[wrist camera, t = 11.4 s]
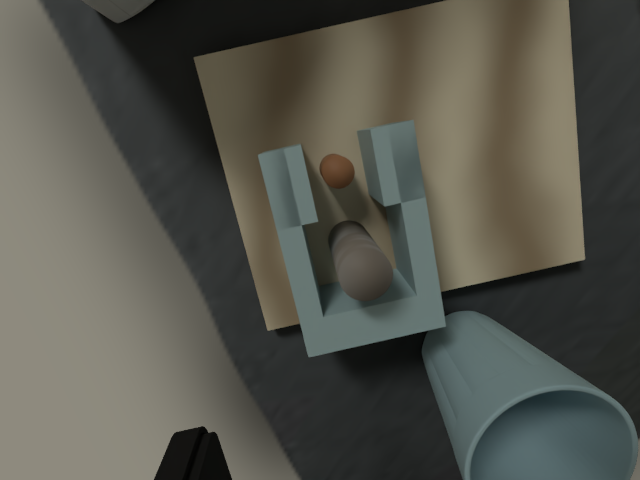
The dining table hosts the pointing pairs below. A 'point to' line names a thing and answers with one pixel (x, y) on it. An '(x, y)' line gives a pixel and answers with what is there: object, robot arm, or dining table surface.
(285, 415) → the dining table surface
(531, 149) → the board
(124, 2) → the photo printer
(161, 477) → the robot arm
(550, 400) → the cup
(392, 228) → the u-shaped channel block
